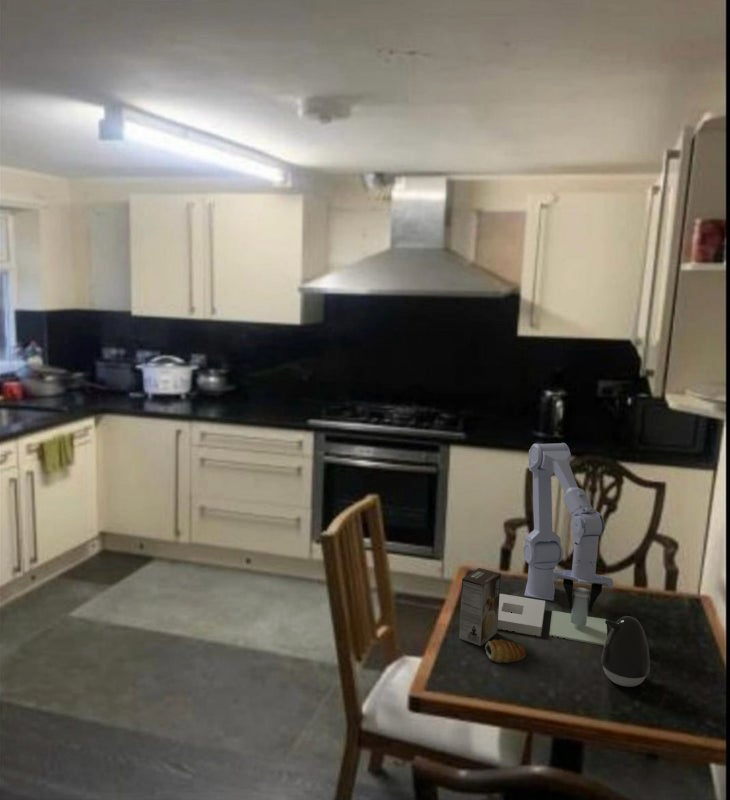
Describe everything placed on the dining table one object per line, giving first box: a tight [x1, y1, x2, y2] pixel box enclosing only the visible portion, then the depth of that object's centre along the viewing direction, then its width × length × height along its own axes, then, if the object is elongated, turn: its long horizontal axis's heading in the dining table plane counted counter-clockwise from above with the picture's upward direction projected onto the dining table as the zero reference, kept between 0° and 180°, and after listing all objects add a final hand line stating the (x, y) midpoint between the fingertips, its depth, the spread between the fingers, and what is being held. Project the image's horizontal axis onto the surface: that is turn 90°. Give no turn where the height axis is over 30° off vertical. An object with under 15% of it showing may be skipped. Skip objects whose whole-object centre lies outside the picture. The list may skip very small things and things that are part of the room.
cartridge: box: [570, 587, 591, 626], centre depth 183 cm, size 4×4×8 cm
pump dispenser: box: [600, 615, 651, 688], centre depth 159 cm, size 10×10×15 cm
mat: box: [548, 610, 608, 647], centre depth 184 cm, size 14×14×1 cm
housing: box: [497, 593, 546, 637], centre depth 188 cm, size 16×16×2 cm
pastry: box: [484, 638, 527, 664], centre depth 169 cm, size 9×7×4 cm
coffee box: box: [458, 567, 502, 647], centre depth 177 cm, size 9×6×16 cm
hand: (580, 608), depth 183 cm, fingers closed on cartridge, 4 cm apart
